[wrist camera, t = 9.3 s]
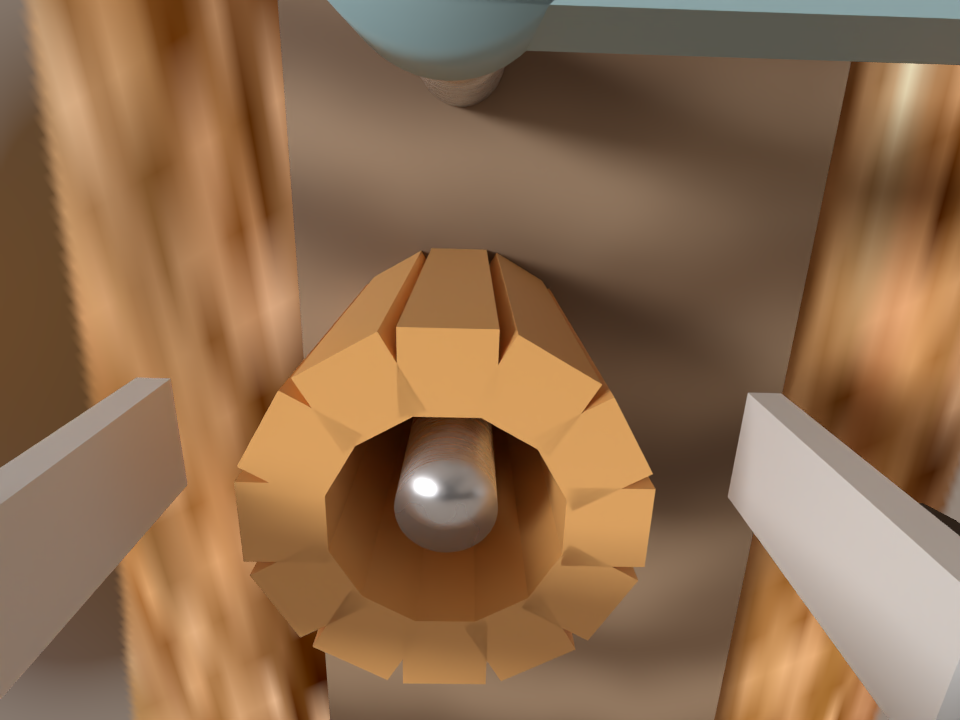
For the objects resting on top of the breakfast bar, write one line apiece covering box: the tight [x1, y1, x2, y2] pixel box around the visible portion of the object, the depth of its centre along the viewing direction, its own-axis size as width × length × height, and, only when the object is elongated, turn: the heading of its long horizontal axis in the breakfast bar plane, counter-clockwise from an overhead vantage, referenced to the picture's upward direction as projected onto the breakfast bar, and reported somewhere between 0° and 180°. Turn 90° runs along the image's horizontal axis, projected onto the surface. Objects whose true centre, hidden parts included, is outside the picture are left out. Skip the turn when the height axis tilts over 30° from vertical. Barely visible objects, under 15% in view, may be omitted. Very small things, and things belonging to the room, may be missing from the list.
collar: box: [234, 248, 656, 684], centre depth 15 cm, size 8×8×9 cm
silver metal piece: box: [394, 67, 505, 552], centre depth 14 cm, size 11×2×9 cm, turn 178°
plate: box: [278, 0, 851, 720], centre depth 21 cm, size 30×16×2 cm, turn 178°
